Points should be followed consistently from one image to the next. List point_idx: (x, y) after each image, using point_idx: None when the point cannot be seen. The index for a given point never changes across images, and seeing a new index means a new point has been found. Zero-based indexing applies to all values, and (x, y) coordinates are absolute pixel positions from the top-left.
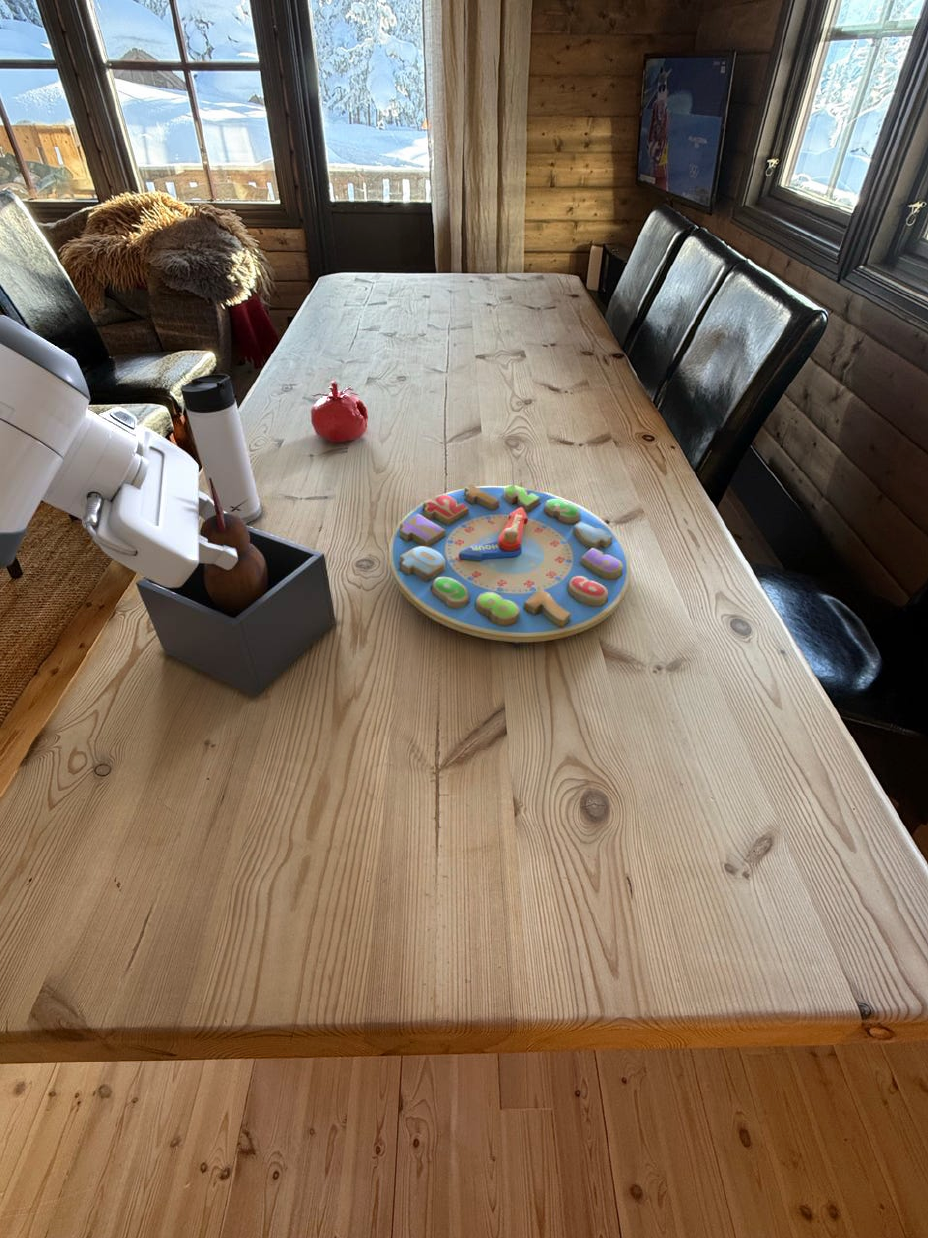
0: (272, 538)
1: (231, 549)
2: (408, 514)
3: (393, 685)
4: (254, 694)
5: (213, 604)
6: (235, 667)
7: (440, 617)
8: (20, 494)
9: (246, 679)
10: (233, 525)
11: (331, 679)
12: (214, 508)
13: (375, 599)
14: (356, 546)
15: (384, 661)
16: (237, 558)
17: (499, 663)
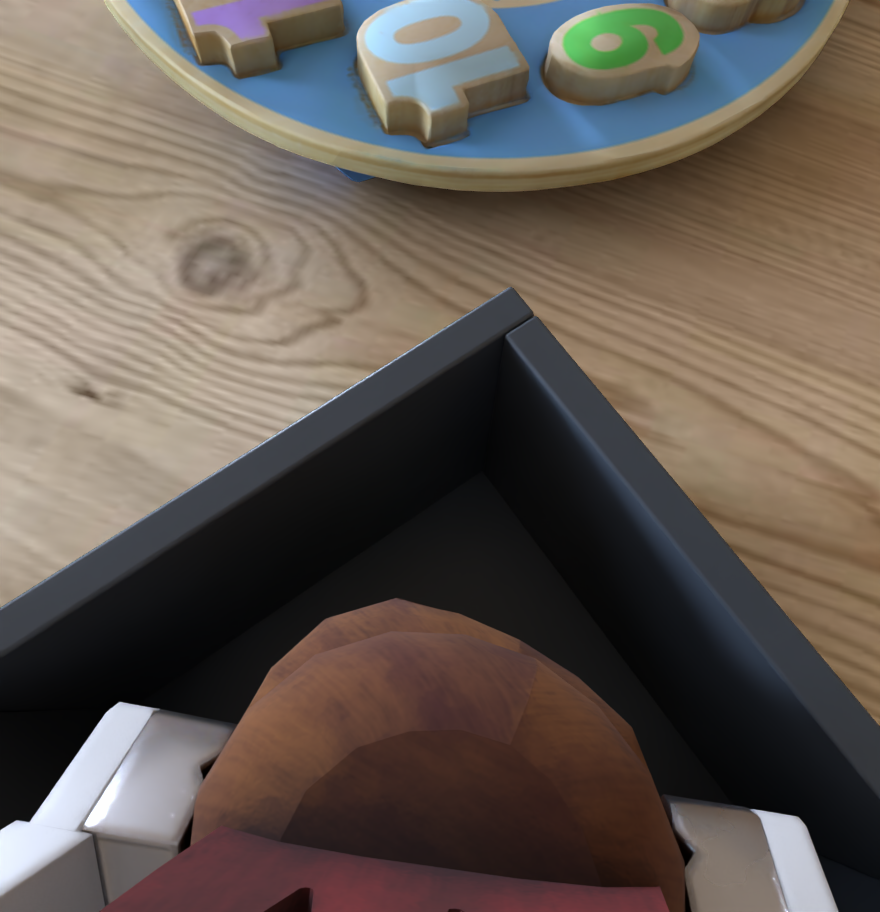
0: (222, 500)
1: (733, 856)
2: (121, 4)
3: (852, 378)
4: None
5: None
6: None
7: (714, 128)
8: None
9: None
10: (567, 777)
11: (764, 545)
12: (11, 908)
13: (422, 295)
14: (93, 259)
15: (736, 367)
16: (799, 818)
17: (849, 100)
